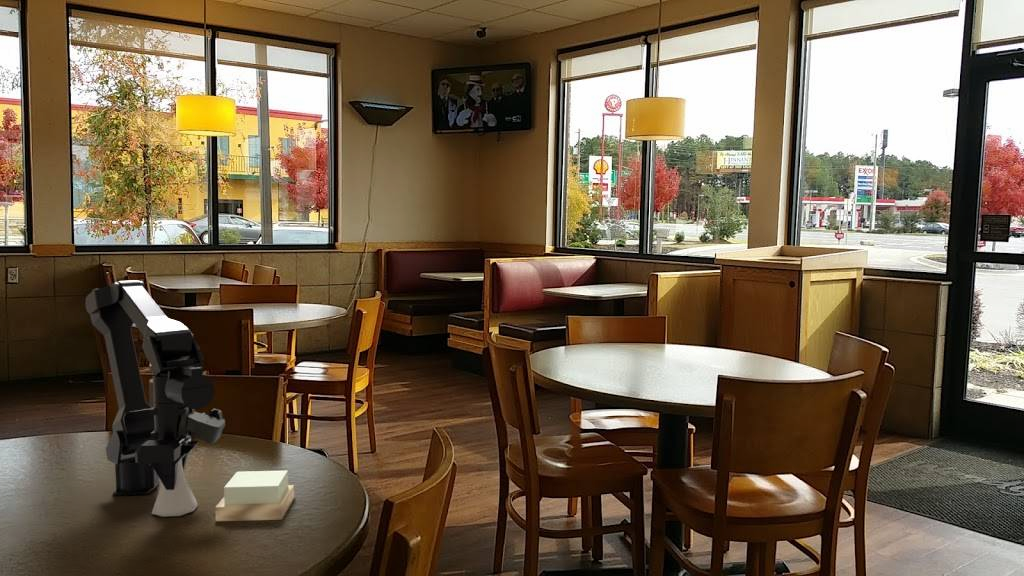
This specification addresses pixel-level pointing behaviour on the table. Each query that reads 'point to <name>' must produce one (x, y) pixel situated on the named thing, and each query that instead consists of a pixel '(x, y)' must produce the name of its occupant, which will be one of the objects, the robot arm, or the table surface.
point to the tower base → (255, 509)
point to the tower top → (256, 487)
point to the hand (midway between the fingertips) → (174, 488)
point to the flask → (175, 497)
